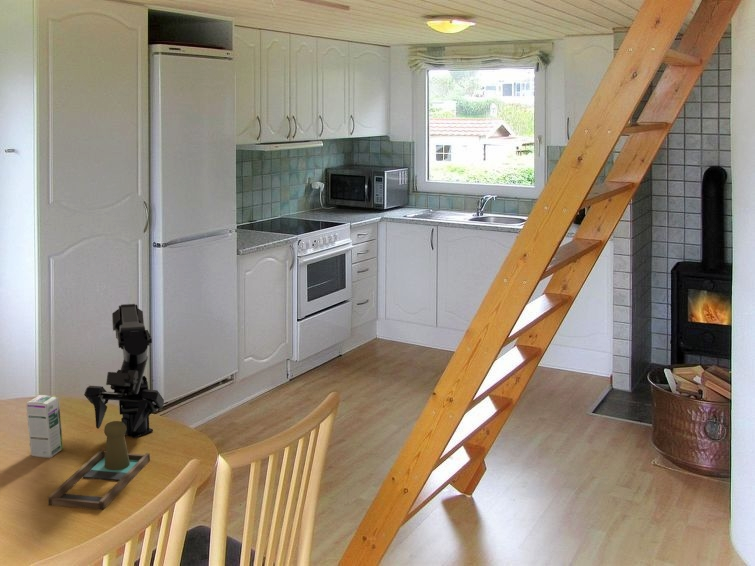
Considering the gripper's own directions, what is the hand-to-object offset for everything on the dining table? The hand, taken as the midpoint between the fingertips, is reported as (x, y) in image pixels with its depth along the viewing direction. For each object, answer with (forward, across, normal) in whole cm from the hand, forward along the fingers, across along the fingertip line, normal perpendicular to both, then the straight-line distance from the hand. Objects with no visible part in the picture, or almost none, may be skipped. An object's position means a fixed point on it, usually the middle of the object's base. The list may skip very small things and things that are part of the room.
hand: (115, 429), depth 219 cm
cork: (+7, 0, +7) cm, 9 cm away
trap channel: (+13, 0, +1) cm, 13 cm away
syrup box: (+4, -21, +10) cm, 24 cm away
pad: (+7, 0, +7) cm, 10 cm away
